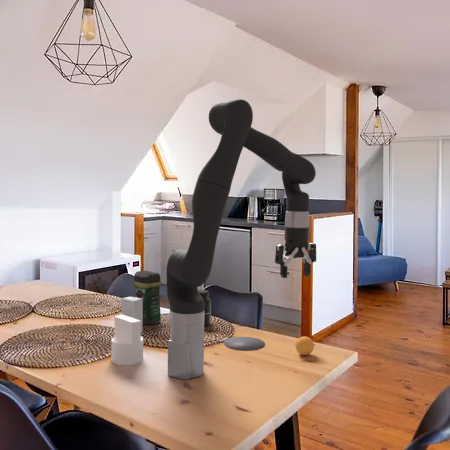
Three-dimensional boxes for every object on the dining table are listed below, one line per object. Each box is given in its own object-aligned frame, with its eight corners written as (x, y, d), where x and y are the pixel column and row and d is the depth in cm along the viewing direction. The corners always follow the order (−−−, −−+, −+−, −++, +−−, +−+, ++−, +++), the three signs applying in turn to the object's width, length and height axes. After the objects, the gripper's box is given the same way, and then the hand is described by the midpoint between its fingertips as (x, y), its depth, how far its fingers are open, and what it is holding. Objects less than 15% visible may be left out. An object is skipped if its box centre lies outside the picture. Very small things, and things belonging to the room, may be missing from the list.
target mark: (254, 353, 153) (254, 352, 153) (216, 345, 159) (216, 345, 159) (271, 341, 165) (271, 340, 165) (235, 335, 171) (235, 334, 171)
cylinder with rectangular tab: (149, 359, 146) (149, 318, 145) (123, 367, 140) (123, 324, 139) (130, 351, 152) (130, 312, 151) (105, 359, 146) (105, 318, 145)
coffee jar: (164, 322, 184) (164, 271, 183) (147, 326, 178) (148, 274, 177) (146, 317, 190) (146, 268, 189) (130, 321, 184) (130, 271, 183)
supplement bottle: (208, 327, 179) (208, 293, 178) (189, 325, 180) (189, 292, 179) (212, 322, 186) (213, 289, 185) (194, 320, 187) (194, 288, 186)
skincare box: (143, 333, 170) (143, 298, 169) (134, 336, 167) (134, 301, 166) (129, 330, 174) (129, 296, 172) (120, 333, 170) (120, 298, 169)
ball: (310, 359, 149) (310, 340, 148) (292, 355, 152) (293, 337, 151) (316, 353, 154) (316, 335, 153) (298, 350, 156) (299, 333, 156)
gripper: (285, 227, 152) (283, 280, 153) (322, 225, 159) (320, 277, 160) (271, 225, 158) (269, 276, 160) (307, 223, 165) (306, 273, 167)
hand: (295, 276), depth 160 cm, fingers open, 8 cm apart
